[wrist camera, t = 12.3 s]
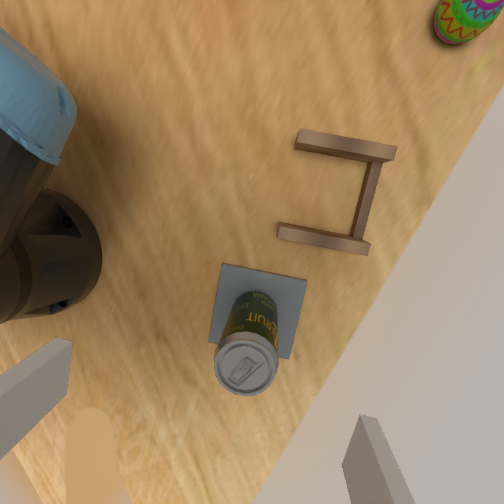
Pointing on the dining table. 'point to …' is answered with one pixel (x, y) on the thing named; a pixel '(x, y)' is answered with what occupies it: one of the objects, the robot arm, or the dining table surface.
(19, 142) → the robot arm
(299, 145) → the rack
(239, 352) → the beer can
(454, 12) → the egg
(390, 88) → the dining table surface
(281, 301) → the coaster
